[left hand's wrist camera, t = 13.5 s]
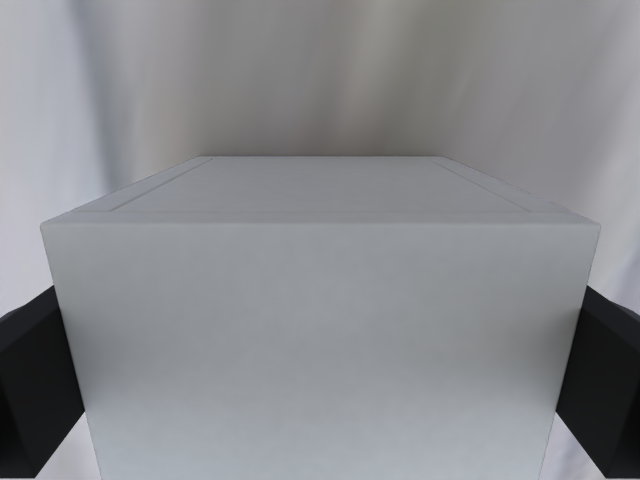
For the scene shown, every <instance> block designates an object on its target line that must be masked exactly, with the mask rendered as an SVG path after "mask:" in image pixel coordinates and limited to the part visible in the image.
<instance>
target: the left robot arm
mask: <svg viewBox="0 0 640 480" xmlns="http://www.w3.org/2000/svg"><path fill="white" fill-rule="evenodd" d="M84 412H85V409H84V405H83V401H82V397H81V393H80V388H79V384H78V380H77V376H76V372H75V368H74V364H73V360H72V356H71V352H70V348H69V344H68V340H67V336H66V331H65V327H64V323H63V319H62V315H61V311H60V307H59V303H58V299H57V295H56V291H55V287H54V285H53V286H51V287H50V288H48V289H47V290H46V291H44V292H43V293H41V294H40V295H39V296H37V297H36V298H34V299H33V300H31V301H30V302H29V303H27V304H26V305H24V306H22V307H19V308H17V309H15V310H13V311H10V312H8V313H7V314H5V315H4V316H2V317H1V318H0V478H35V477H36V476H37V474H38V473H39V472H40V470H41V469H42V468H43V466H44V465H45V464H46V462H47V461H48V460H49V458H50V457H51V456H52V454H53V453H54V452H55V450H56V449H57V448H58V446H59V445H60V444H61V442H62V441H63V440H64V438H65V437H66V436H67V434H68V433H69V432H70V430H71V429H72V428H73V426H74V425H75V424H76V422H77V421H78V420H79V418H80V417H81V416H82V414H83V413H84ZM556 412H557V414H558V415H559V416H560V418H561V419H562V420H563V422H564V423H565V424H566V426H567V427H568V428H569V430H570V431H571V432H572V434H573V435H574V436H575V438H576V439H577V440H578V442H579V443H580V444H581V446H582V447H583V448H584V450H585V451H586V452H587V454H588V455H589V456H590V458H591V459H592V460H593V462H594V463H595V465H596V466H597V467H598V469H599V470H600V471H601V473H602V474H603V475H604V477H605V478H624V479H640V316H639V315H638V314H636V313H635V312H633V311H632V310H629V309H627V308H625V307H623V306H620V305H618V304H616V303H614V302H611V301H609V300H608V299H606V298H605V297H603V296H602V295H601V294H599V293H598V292H596V291H595V290H593V289H592V288H591V287H589V286H588V285H587V286H586V290H585V294H584V298H583V302H582V306H581V310H580V314H579V318H578V323H577V327H576V331H575V335H574V339H573V343H572V347H571V351H570V355H569V359H568V363H567V367H566V371H565V375H564V379H563V383H562V387H561V391H560V395H559V399H558V403H557V407H556Z"/></svg>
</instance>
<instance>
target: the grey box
mask: <svg viewBox="0 0 640 480" xmlns="http://www.w3.org/2000/svg"><path fill="white" fill-rule="evenodd" d="M40 230H41V234H42V238H43V242H44V246H45V250H46V254H47V258H48V262H49V266H50V270H51V274H52V278H53V283H54V287H55V291H56V295H57V299H58V303H59V307H60V311H61V315H62V319H63V323H64V327H65V331H66V336H67V340H68V344H69V348H70V352H71V356H72V360H73V364H74V368H75V372H76V376H77V380H78V384H79V388H80V393H81V397H82V401H83V405H84V409H85V413H86V417H87V421H88V425H89V429H90V433H91V437H92V441H93V445H94V450H95V454H96V458H97V462H98V466H99V470H100V474H101V478H102V480H539V476H540V472H541V468H542V464H543V460H544V456H545V451H546V447H547V443H548V439H549V435H550V431H551V427H552V423H553V419H554V415H555V411H556V407H557V403H558V399H559V395H560V391H561V387H562V383H563V379H564V375H565V371H566V367H567V363H568V359H569V355H570V351H571V347H572V343H573V339H574V335H575V331H576V327H577V323H578V318H579V314H580V310H581V306H582V302H583V298H584V294H585V290H586V286H587V282H588V278H589V274H590V270H591V266H592V262H593V258H594V254H595V250H596V246H597V242H598V238H599V234H600V230H601V225H600V224H599V223H597V222H594V221H592V220H590V219H587V218H585V217H583V216H580V215H578V214H576V213H573V212H572V211H570V210H568V209H566V208H563V207H561V206H559V205H556V204H554V203H552V202H549V201H547V200H544V199H542V198H540V197H537V196H535V195H533V194H530V193H528V192H526V191H523V190H521V189H519V188H516V187H514V186H512V185H509V184H507V183H505V182H502V181H500V180H498V179H495V178H493V177H491V176H488V175H486V174H484V173H481V172H479V171H477V170H474V169H472V168H470V167H467V166H465V165H463V164H460V163H458V162H455V161H453V160H451V159H447V158H445V157H443V156H197V157H195V158H193V159H190V160H188V161H185V162H183V163H181V164H178V165H176V166H174V167H171V168H169V169H167V170H164V171H162V172H160V173H157V174H155V175H153V176H150V177H148V178H146V179H143V180H141V181H139V182H136V183H134V184H132V185H129V186H127V187H125V188H122V189H120V190H118V191H115V192H113V193H111V194H108V195H106V196H104V197H101V198H99V199H97V200H94V201H92V202H90V203H87V204H85V205H83V206H80V207H78V208H76V209H73V210H71V211H69V212H66V213H64V214H62V215H59V216H57V217H55V218H52V219H50V220H48V221H45V222H43V223H41V224H40Z"/></svg>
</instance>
